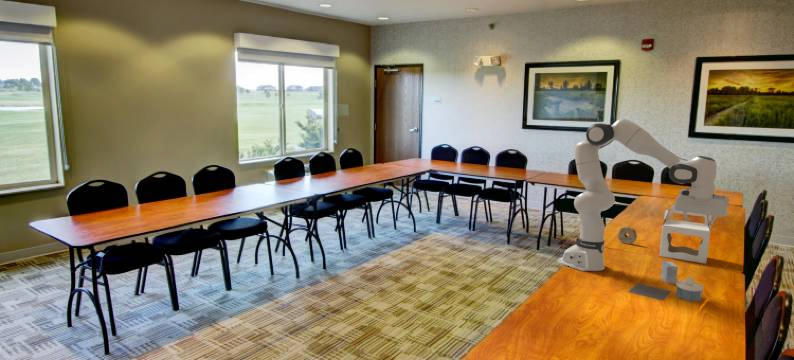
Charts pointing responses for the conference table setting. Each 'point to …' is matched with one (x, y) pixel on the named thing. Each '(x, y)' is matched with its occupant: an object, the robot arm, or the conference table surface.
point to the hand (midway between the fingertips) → (698, 223)
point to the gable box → (685, 229)
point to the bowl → (688, 295)
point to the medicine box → (669, 272)
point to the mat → (650, 291)
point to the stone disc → (624, 237)
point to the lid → (689, 285)
